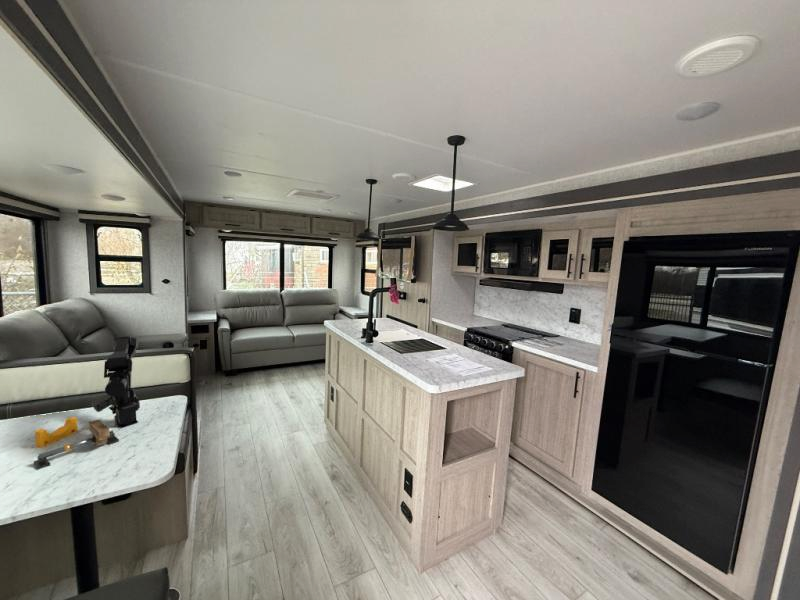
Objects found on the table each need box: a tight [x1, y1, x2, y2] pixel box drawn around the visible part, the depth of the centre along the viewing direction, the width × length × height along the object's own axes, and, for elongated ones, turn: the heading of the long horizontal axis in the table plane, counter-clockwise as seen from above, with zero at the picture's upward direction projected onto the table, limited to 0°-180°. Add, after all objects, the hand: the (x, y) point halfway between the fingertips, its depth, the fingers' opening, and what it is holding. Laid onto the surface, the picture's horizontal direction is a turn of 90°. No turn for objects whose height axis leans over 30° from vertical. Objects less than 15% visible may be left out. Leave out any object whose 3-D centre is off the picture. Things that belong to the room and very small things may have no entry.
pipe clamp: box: [34, 416, 79, 449], centre depth 129 cm, size 12×4×6 cm, turn 170°
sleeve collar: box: [88, 419, 110, 447], centre depth 126 cm, size 3×12×7 cm, turn 57°
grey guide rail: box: [33, 430, 120, 470], centre depth 121 cm, size 22×6×4 cm, turn 147°
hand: (121, 423), depth 131 cm, fingers closed
